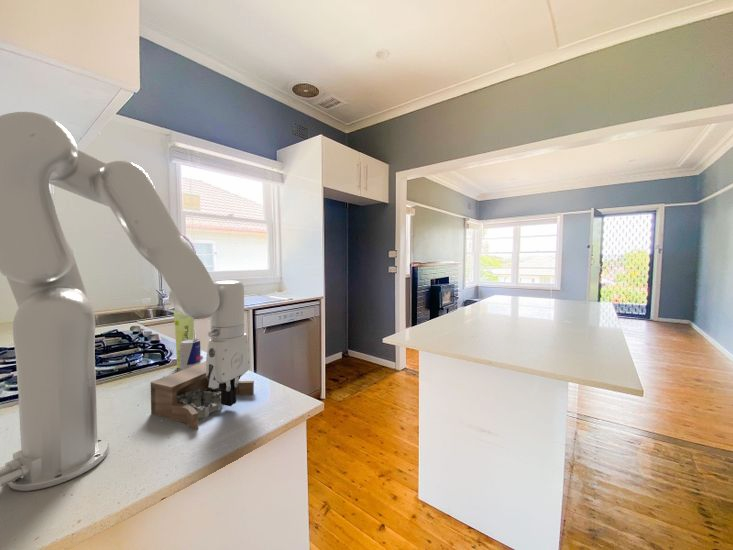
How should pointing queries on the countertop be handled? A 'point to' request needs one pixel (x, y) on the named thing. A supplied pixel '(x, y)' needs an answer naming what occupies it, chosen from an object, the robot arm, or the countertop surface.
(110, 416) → the countertop surface
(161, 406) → the walnut garage
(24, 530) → the countertop surface
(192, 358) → the energy drink
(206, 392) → the grey holed block
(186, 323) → the tube
